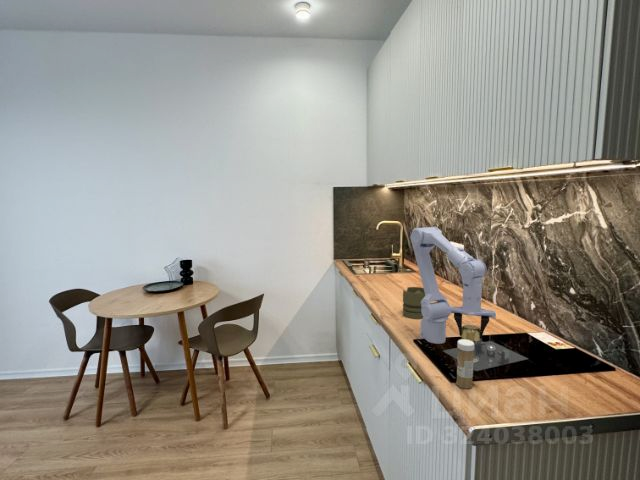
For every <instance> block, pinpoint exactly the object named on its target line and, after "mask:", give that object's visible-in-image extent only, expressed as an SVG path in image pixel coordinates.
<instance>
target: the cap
mask: <svg viewBox="0 0 640 480" xmlns="http://www.w3.org/2000/svg"><path fill="white" fill-rule="evenodd" d="M480 328H481V327H479V326H478V325H477V326H476V325H474V324H465V325H464V324H463V325H462V336H461V339H466V340H470V341H472V342H475V341H479V340H480Z"/></svg>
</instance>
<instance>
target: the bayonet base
mask: <svg viewBox="0 0 640 480" xmlns="http://www.w3.org/2000/svg"><path fill="white" fill-rule="evenodd" d="M442 352H444V353H445V354H447V355H449V356H451V357H452V358H453V359H455V360H458V347H455V348H450V349H444V350H442ZM525 360H529V358H528V357H526V356H524V355H521V354H520V353H517V352H515V351H513V350H511V349H508V348H507V347H504V346H503V345H501V344H498V343H496V342H494V341H492V340H489V341H483V338H482V339H480V340H479V341H474V351H473V371H476V372H479V371H483V370H488V369H490V368H495V367H500V366H504V365H507V364H512V363H517V362H520V361H525Z"/></svg>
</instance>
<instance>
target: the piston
mask: <svg viewBox="0 0 640 480" xmlns="http://www.w3.org/2000/svg"><path fill="white" fill-rule="evenodd" d="M424 297H425V292H424V288H423V287H419V286H407V288H406V290H405V289H403V290H402V316H403V317H404V318H406V319H411V320H422V318H423V315H422V312H421V308H422V306H421V300H422V299H423V298H424Z"/></svg>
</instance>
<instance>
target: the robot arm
mask: <svg viewBox="0 0 640 480" xmlns="http://www.w3.org/2000/svg"><path fill="white" fill-rule="evenodd" d="M409 238H410V242H411V246H412V249H413V252H414V256H415V261H416V264H417V267H418V272H419V275H420V280H421V285H422V288H424V292H425V297H424V298H423V299H422V300H421V306H422V308H421V312H422V315H423V318H422V319H420V331H419V332H420V336H418V339H419V340H422V339H425V340H426V341H427V342H428V343H431V344H435V345H436V344H439V345H440V344H444V343H445V342H446V340H447V339H446V336H447V335H446V334H447V332H446V331H447V320H448V319H449V317H450V316H451V314H453V318H454V320H455V323H456V326H457V328H458V332H459V336H460V337H462V326H463V315H464V316H465V315H467V316H474V317H480V327H479V328H480V339H482V340H483V334H484V331H485V329H486V328H487V326H488V324H489V322H490V318H491V319H496V316H497V312H496V311H495V310H489V309H483V308H482V293H483V290H482V289H483V277H485V276H486V274H487V272H488V269H487V265H486V264H485V263H484V261H483V260H482V259H476V258H474V257H473V256H472V255H470V254H469V253H467V251H465V248H464V247H461V246H454V245H453V244H452V243H451V242H450V241H449V239H447V237H445V236H444V235H443V231H442V230H441V229H439V228H438V227H437V226H428V227H415V228H413V229H412V232H411V234H410V236H409ZM435 246H436V247H437V248H439V250H441V251H442V252H444V253H445V254H446V255H447V260H449V261H450V262H451V263H452V264H453V266H455V267H456V268H457V269H458V270H459V274H460V276H461V282H462V306H451V305H450V303H449V302H448V298H447V297H446V296H445V295H444V294H442V293H441V292H440V288H439V284H438V281H437V278H436V273H435V269H434V266H433V263H432V259H431V255H430V252H431V251H432V250H433V248H435Z"/></svg>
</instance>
